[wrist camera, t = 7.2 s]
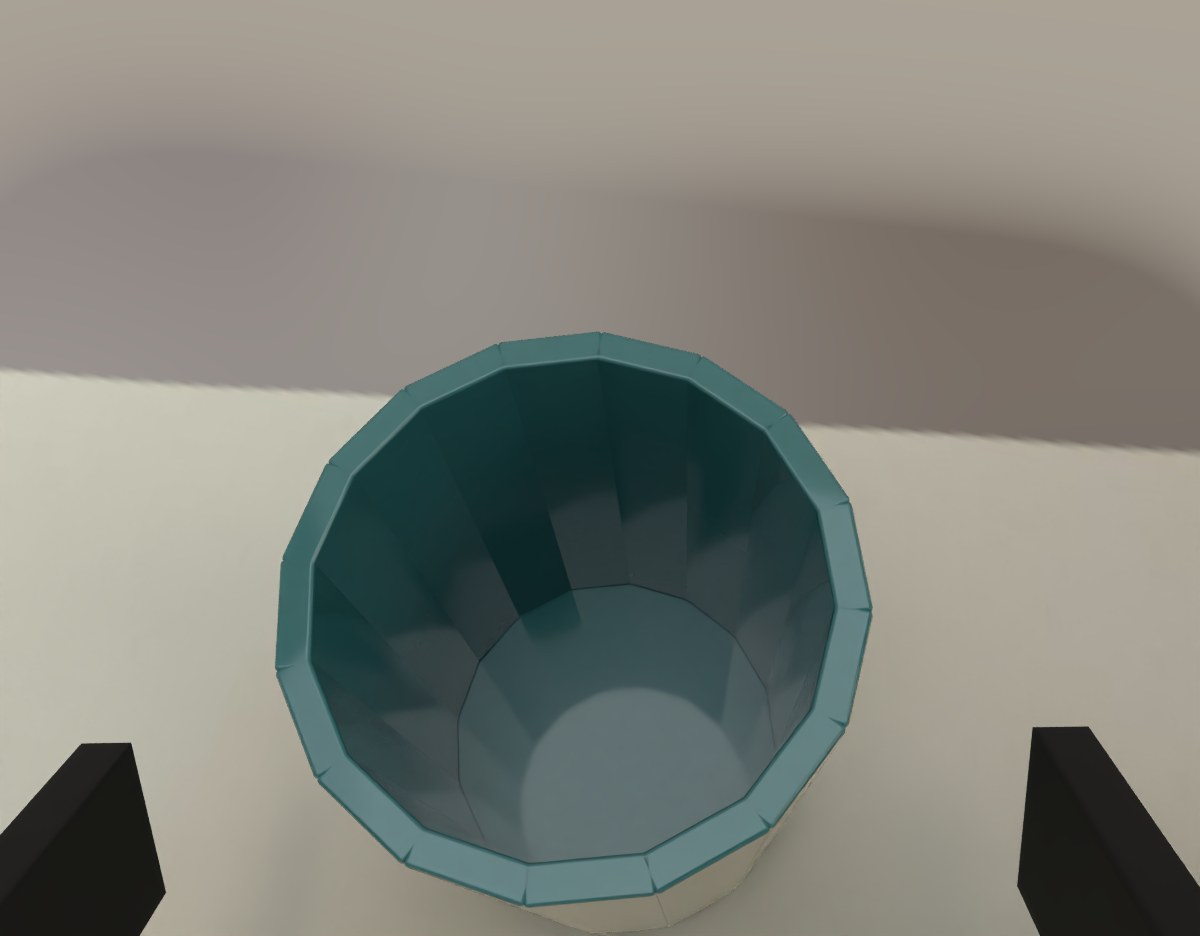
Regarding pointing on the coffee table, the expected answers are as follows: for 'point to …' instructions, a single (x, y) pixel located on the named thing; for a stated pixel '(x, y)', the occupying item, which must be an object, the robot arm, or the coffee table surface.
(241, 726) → the coffee table surface
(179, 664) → the coffee table surface
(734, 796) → the pot
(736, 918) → the coffee table surface
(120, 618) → the coffee table surface
